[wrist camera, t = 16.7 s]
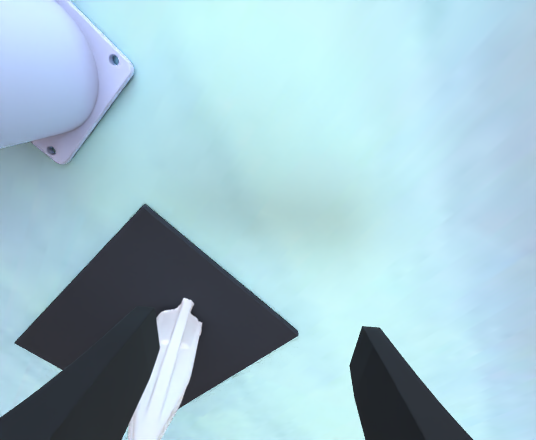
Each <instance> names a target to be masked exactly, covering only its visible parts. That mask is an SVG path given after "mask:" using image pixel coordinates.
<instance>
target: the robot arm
mask: <svg viewBox="0 0 536 440" xmlns="http://www.w3.org/2000/svg"><path fill="white" fill-rule="evenodd" d="M115 55H116V56H117V57H118V59H119V63H118V65H115V64H114V62H113V56H115ZM133 74H134V67H133V64H132V63H131V61H130V60H129V59H128V58H127V57H126V56H125V55H124V54H123V53H122V52H121V51H120V50H119V49H118V48H117V47H116V46H115V45H114V44H113V43H112V42H111V41H110V40H109V39H108V38H107V37H106V36H105V35H104V34H103V33H102V32H101V31H100V30H99V29H98V28H97V27H96V26H95V25H94V24H93V23H92V22H91V21H90V20H89V19H88V18H87V17H86V16H85V15H84V14H83V13H82V12H81V11H80V10H79V9H78V8H77V7H76V6H75V5H74V4H73V3H72V2H71V1H70V0H0V149H1V148H5V147H9V146H13V145H17V144H22V143H26V142H31V143H32V144H34V145H35V146H36V147H37V148H39V149H40V150H41V151H42V152H44V153H45V154H46V155H47V156H49V157H50V158H51V159H52V160H54V161H55V162H57V163H58V164H66V163H68V162H69V161H70V160H71V159H72V157H73V156H74V155H75V153H76V152H77V151H78V149H79V148H80V147H81V145H82V144H83V142H84V141H85V140H86V138H87V137H88V136H89V134H90V133H91V132H92V130H93V129H94V127H95V126H96V125H97V123H98V122H99V121H100V119H101V118H102V117H103V115H104V114H105V113H106V111H107V110H108V108H109V107H110V106H111V104H112V103H113V102H114V100H115V99H116V98H117V96H118V95H119V93H120V92H121V91H122V89H123V88H124V87H125V85H126V84H127V83H128V81H129V80H130V79H131V77H132V76H133ZM52 147H53V148H54V149H55V151H56V153H55V152H53V151H52ZM159 350H160V343H159V335H158V328H157V320H156V312H155V307H144V306H137V307H135V308H134V309H133V310H132V311H131V312H130V313H128V314H127V315H126V316H125V317H124V318H123V319H122V320H121V321H120V322H118V323H117V324H116V325H115V326H114V327H113V328H112V329H111V330H110V331H108V332H107V333H106V334H105V335H104V336H103V337H102V338H101V339H99V340H98V341H97V342H96V343H95V344H94V345H92V346H91V347H90V348H89V349H88V350H87V351H85V352H84V353H83V354H82V355H81V356H80V357H78V358H77V359H76V360H75V361H74V362H72V363H71V364H70V365H69V366H68V367H66V368H65V369H64V370H63V371H61V372H60V373H59V374H58V375H56V376H55V377H54V378H53V379H51V380H50V381H49V382H48V383H46V384H45V385H44V386H42V387H41V388H40V389H39V390H37V391H36V392H35V393H33V394H32V395H31V396H29V397H28V398H27V399H25V400H24V401H23V402H21V403H20V404H19V405H17V406H16V407H14V408H13V409H12V410H10V411H9V412H7V413H6V414H5V415H3V416H2V417H0V440H121V439H122V437H123V435H124V433H125V431H126V429H127V427H128V425H129V422H130V420H131V418H132V416H133V414H134V412H135V410H136V408H137V405H138V403H139V401H140V399H141V397H142V395H143V392H144V390H145V388H146V386H147V384H148V382H149V379H150V377H151V374H152V371H153V368H154V365H155V362H156V359H157V356H158V353H159ZM350 372H351V379H352V385H353V392H354V398H355V402H356V406H357V409H358V413H359V417H360V421H361V425H362V428H363V432H364V436H365V440H473V439H472V438H471V437H470V436H469V435H468V434H467V433H466V431H465V430H464V429H463V428H462V427H461V426H460V425H459V424H458V423H457V421H456V420H455V419H454V418H453V417H452V416H451V415H450V414H449V413H448V411H447V410H446V409H445V408H444V407H443V406H442V405H441V403H440V402H439V401H438V400H437V399H436V398H435V396H434V395H433V394H432V393H431V392H430V390H429V389H428V388H427V387H426V385H425V384H424V383H423V382H422V381H421V379H420V378H419V377H418V376H417V375H416V373H415V372H414V371H413V370H412V368H411V367H410V366H409V364H408V363H407V362H406V361H405V359H404V358H403V357H402V356H401V354H400V353H399V352H398V350H397V349H396V348H395V347H394V345H393V344H392V343H391V341H390V340H389V339H388V338H387V336H386V335H385V334H384V332H383V331H382V330H381V329H380V328H377V327H366V326H362V329H361V332H360V335H359V338H358V341H357V344H356V347H355V350H354V353H353V356H352V359H351V362H350Z"/></svg>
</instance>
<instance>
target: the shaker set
mask: <svg viewBox="0 0 536 440" xmlns="http://www.w3.org/2000/svg"><path fill="white" fill-rule="evenodd" d="M193 306H194V303H193V302H192V300H188V299H186V298H183V300H182V303H181V304H180V305H179V306H178V308H175V310H174V309H171V310H165V311H164V312H161V313H160V314H159V315H158V316H157V318H156V320H157V328H158V335H159V343H160V350H159V353H158V356H157V359H156V362H155V365H154V368H153V371H152V374H151V377H150V379H149V382H148V384H147V386H146V388H145V390H144V392H143V395H142V397H141V399H140V401H139V403H138V405H137V408H136V410H135V412H134V414H133V416H132V418H131V420H130V422H129V432H128V440H161V438H162V437H163V435H164V433H165V431H166V430H167V428H168V426H169V424H170V423H171V421H172V419H173V417H174V415H175V413H176V412H177V410H178V408H179V406H180V404H181V401H182V399H183V396H184V393H185V390H186V387H187V385H188V383H189V381H190V377H191V373H192V369H193V365H194V360H195V355H196V350H197V345H198V340H199V335H201V332H202V330H201V329H202V328H201V327H202V323H201V322H199V321H198V319H197V318H196V317H195V316H193V315H191V310H192V307H193Z"/></svg>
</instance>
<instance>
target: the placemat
mask: <svg viewBox="0 0 536 440" xmlns="http://www.w3.org/2000/svg"><path fill="white" fill-rule="evenodd" d="M183 298H186V299H188V300H192V302H193V303H194V306H193V307H192V310H191V315H193V316H195V317H196V318H197V319H198V321H199V322H201V323H202V327H201V328H202V329H201V330H202V332H201V335H199V340H198V345H197V350H196V355H195V360H194V365H193V369H192V373H191V377H190V381H189V383H188V385H187V387H186V390H185V393H184V396H183V399H182V401H181V404H180V406H179V408H180V407H182V406H184V405H185V404H187V403H188V402H190V401H192V400H193V399H195V398H197V397H198V396H200V395H202V394H203V393H205V392H207V391H208V390H210V389H211V388H213V387H215V386H216V385H218V384H220V383H221V382H223V381H225V380H226V379H228V378H230V377H231V376H233V375H234V374H236V373H238V372H239V371H241V370H243V369H244V368H246V367H248V366H249V365H251V364H253V363H254V362H256V361H257V360H259V359H261V358H262V357H264V356H266V355H267V354H269V353H271V352H272V351H274V350H276V349H277V348H279V347H280V346H282V345H284V344H285V343H287V342H289V341H290V340H292V339H294V338H295V337H297V336H298V331H297V330H296V329H295V328H294V327H293V326H291V325H290V324H289V323H288V322H286V321H285V320H284V319H283V318H282V317H280V316H279V315H278V314H277V313H276V312H274V311H273V310H272V309H271V308H270V307H268V306H267V305H266V304H265V303H264V302H262V301H261V300H260V299H259V298H258V297H256V296H255V295H254V294H253V293H252V292H250V291H249V290H248V289H247V288H246V287H244V286H243V285H242V284H241V283H240V282H238V281H237V280H236V279H235V278H234V277H232V276H231V275H230V274H229V273H228V272H226V271H225V270H224V269H223V268H222V267H220V266H219V265H218V264H217V263H216V262H214V261H213V260H212V259H211V258H210V257H208V256H207V255H206V254H205V253H204V252H202V251H201V250H200V249H199V248H198V247H196V246H195V245H194V244H193V243H192V242H190V241H189V240H188V239H187V238H186V237H184V236H183V235H182V234H181V233H180V232H178V231H177V230H176V229H175V228H174V227H172V226H171V225H170V224H169V223H168V222H166V221H165V220H164V219H163V218H162V217H160V216H159V215H158V214H157V213H156V212H154V211H153V210H152V209H151V208H150V207H148V206H147V205H146V204H144V205H143V206H142V207H141V208H140V209H139V210H138V211H137V212H136V214H135V215H134V216H133V217H132V218H131V219H130V220H129V221H128V222H127V223H126V224H125V225H124V226H123V227H122V228H121V230H120V231H119V232H118V233H117V234H116V235H115V236H114V237H113V238H112V239H111V240H110V241H109V242H108V243H107V244H106V246H105V247H104V248H103V249H102V250H101V251H100V252H99V253H98V254H97V255H96V256H95V257H94V258H93V259H92V260H91V262H90V263H89V264H88V265H87V266H86V267H85V268H84V269H83V270H82V271H81V272H80V273H79V274H78V275H77V276H76V278H75V279H74V280H73V281H72V282H71V283H70V284H69V285H68V286H67V287H66V288H65V289H64V290H63V291H62V292H61V294H60V295H59V296H58V297H57V298H56V299H55V300H54V301H53V302H52V303H51V304H50V305H49V306H48V307H47V308H46V310H45V311H44V312H43V313H42V314H41V315H40V316H39V317H38V318H37V319H36V320H35V321H34V322H33V323H32V325H31V326H30V327H29V328H28V329H27V330H26V331H25V332H24V333H23V334H22V335H21V336H20V337H19V338H18V339H17V341H16V342H15V344H17V345H19V346H20V347H22V348H24V349H26V350H28V351H30V352H31V353H33V354H35V355H37V356H39V357H40V358H42V359H44V360H46V361H48V362H49V363H51V364H53V365H55V366H57V367H58V368H60V369H62V370H64V369H65V368H66V367H68V366H69V365H70V364H71V363H72V362H74V361H75V360H76V359H77V358H78V357H80V356H81V355H82V354H83V353H84V352H85V351H87V350H88V349H89V348H90V347H91V346H92V345H94V344H95V343H96V342H97V341H98V340H99V339H101V338H102V337H103V336H104V335H105V334H106V333H107V332H108V331H110V330H111V329H112V328H113V327H114V326H115V325H116V324H117V323H118V322H120V321H121V320H122V319H123V318H124V317H125V316H126V315H127V314H128V313H130V312H131V311H132V310H133V309H134V308H135V307H137V306H144V307H155V312H156V318H157V316H158V315H159V314H160V313H161V312H164V311H165V310H171V309H174V310H175V308H178V306H179V305H180V304H181V303H182V300H183ZM179 408H178V409H179Z"/></svg>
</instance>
